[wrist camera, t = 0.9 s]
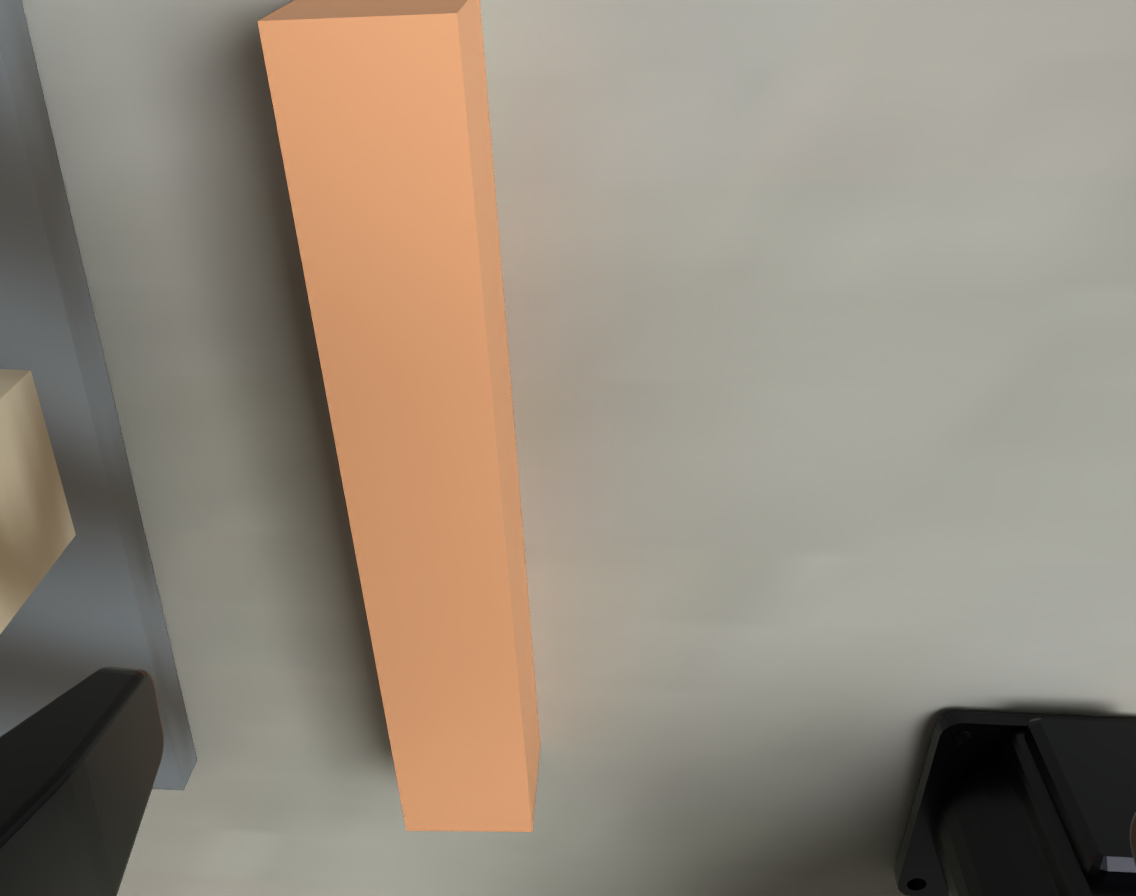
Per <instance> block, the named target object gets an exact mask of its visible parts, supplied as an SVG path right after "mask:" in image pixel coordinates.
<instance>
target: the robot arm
mask: <svg viewBox="0 0 1136 896" xmlns="http://www.w3.org/2000/svg"><path fill="white" fill-rule="evenodd" d="M961 730H963V731H961ZM956 731H961V732H959V733H954V732H956ZM163 749H164V733H163V727H162V721H161V716H160V710H159V705H158V699H157V693H156V688H155V683H154V680H153V677H152V676H151V674H150V673H149V672H148V671H145V670H142V669H132V668H120V667H104V668H101V669H99V670H97V671H95V672H93V673H92V674H91V675H89V676H88V677H86V678H85V679H83V680H82V681H80V682H79V683H77V684H76V685H75V686H73V687H72V688H70V689H69V690H67V691H66V692H64V693H63V694H62V695H60V696H59V697H57V698H56V699H54V700H53V701H51V702H50V703H48V704H47V705H46V706H44V707H43V708H41V709H40V710H38V711H37V712H35V713H34V714H32V715H31V716H30V717H28V718H27V719H25V720H24V721H22V722H21V723H19V724H18V725H17V726H15V727H14V728H12V729H11V730H9V731H8V732H6V733H5V734H3V735H2V736H1V737H0V896H117V893H118V890H119V887H120V884H121V881H122V878H123V875H124V872H125V869H126V866H127V863H128V860H129V857H130V854H131V851H132V848H133V845H134V842H135V839H136V836H137V833H138V830H139V827H140V824H141V821H142V818H143V815H144V812H145V809H146V806H147V803H148V800H149V797H150V794H151V791H152V788H153V785H154V782H155V779H156V776H157V773H158V770H159V767H160V763H161V760H162V755H163ZM895 878H896V882H897V886H898V889H899V890H900V892H902V893H903V894H905V895H909V896H1136V719H1125V718H1104V717H1082V716H1061V715H1039V714H1018V713H996V712H975V711H953V712H949V713H947V714H944V715H943V716H942V717H940V718H939V719H938V721H937V722H936V724H935V727H934V731H933V734H932V738H931V742H930V745H929V749H928V752H927V756H926V759H925V763H924V767H923V770H922V774H921V777H920V781H919V785H918V788H917V792H916V795H915V799H914V803H913V806H912V810H911V813H910V817H909V820H908V824H907V828H906V831H905V835H904V838H903V842H902V846H901V849H900V853H899V856H898V860H897V864H896V867H895Z"/></svg>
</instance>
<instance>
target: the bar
mask: <svg viewBox="0 0 1136 896" xmlns="http://www.w3.org/2000/svg"><path fill="white" fill-rule="evenodd" d="M257 22H258V27H259V32H260V38H261V43H262V49H263V54H264V60H265V65H266V71H267V76H268V81H269V87H270V92H271V98H272V103H273V109H274V114H275V119H276V125H277V130H278V136H279V141H280V147H281V152H282V158H283V163H284V168H285V174H286V179H287V185H288V190H289V196H290V201H291V206H292V212H293V217H294V223H295V228H296V234H297V239H298V244H299V250H300V255H301V261H302V266H303V272H304V277H305V283H306V288H307V293H308V299H309V304H310V310H311V315H312V321H313V326H314V331H315V337H316V342H317V348H318V353H319V359H320V364H321V370H322V375H323V380H324V386H325V391H326V397H327V402H328V408H329V413H330V418H331V424H332V429H333V435H334V440H335V446H336V451H337V456H338V462H339V467H340V473H341V478H342V484H343V489H344V495H345V500H346V505H347V511H348V516H349V522H350V527H351V533H352V538H353V543H354V549H355V554H356V560H357V565H358V571H359V576H360V582H361V587H362V592H363V598H364V603H365V609H366V614H367V620H368V625H369V630H370V636H371V641H372V647H373V652H374V658H375V663H376V668H377V674H378V679H379V685H380V690H381V696H382V701H383V707H384V712H385V717H386V723H387V728H388V734H389V739H390V745H391V750H392V755H393V761H394V766H395V772H396V777H397V783H398V788H399V794H400V799H401V804H402V810H403V815H404V821H405V826H406V831H496V832H533V821H534V810H535V799H536V788H537V777H538V766H539V755H540V735H539V722H538V710H537V698H536V685H535V673H534V661H533V648H532V636H531V624H530V611H529V599H528V587H527V575H526V562H525V550H524V538H523V525H522V513H521V501H520V488H519V476H518V464H517V451H516V439H515V427H514V414H513V402H512V390H511V377H510V365H509V353H508V341H507V328H506V316H505V304H504V291H503V279H502V267H501V254H500V242H499V230H498V217H497V205H496V193H495V180H494V168H493V156H492V143H491V131H490V119H489V107H488V94H487V82H486V70H485V57H484V45H483V33H482V20H481V8H480V0H294V1H292V2H290V3H289V4H287V5H285V6H283V7H282V8H280V9H278V10H276V11H274V12H273V13H271V14H269V15H267V16H266V17H264V18H262V19H260V20H258V21H257Z"/></svg>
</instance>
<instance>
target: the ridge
mask: <svg viewBox="0 0 1136 896" xmlns="http://www.w3.org/2000/svg"><path fill="white" fill-rule="evenodd" d="M104 667H120V668H132V669H142V670H145V671H148V672H149V673H150V674H151V676H152V677H153V680H154V683H155V688H156V693H157V699H158V705H159V710H160V716H161V721H162V727H163V733H164V749H163V755H162V760H161V763H160V767H159V770H158V773H157V776H156V779H155V782H154V785H153V788H152V789H166V790H184V788H185V786H186V784H187V782H188V779H189V777H190V775H191V773H192V770H193V768H194V766H195V764H196V762H197V758H196V754H195V749H194V745H193V741H192V736H191V732H190V728H189V723H188V719H187V715H186V710H185V706H184V702H183V697H182V693H181V689H180V684H179V680H178V676H177V671H176V667H175V663H174V658H173V654H172V650H171V645H170V641H169V637H168V632H167V628H166V624H165V619H164V615H163V611H162V607H161V602H160V598H159V594H158V589H157V585H156V581H155V576H154V572H153V568H152V563H151V559H150V555H149V550H148V546H147V542H146V537H145V533H144V529H143V524H142V520H141V516H140V511H139V507H138V503H137V498H136V494H135V490H134V485H133V481H132V477H131V472H130V468H129V464H128V459H127V455H126V451H125V447H124V442H123V438H122V434H121V429H120V425H119V421H118V416H117V412H116V408H115V403H114V399H113V395H112V390H111V386H110V382H109V377H108V373H107V369H106V364H105V360H104V356H103V351H102V347H101V343H100V338H99V334H98V330H97V325H96V321H95V317H94V312H93V308H92V304H91V300H90V295H89V291H88V287H87V282H86V278H85V274H84V269H83V265H82V261H81V256H80V252H79V248H78V243H77V239H76V235H75V230H74V226H73V222H72V217H71V213H70V209H69V204H68V200H67V196H66V191H65V187H64V183H63V178H62V174H61V170H60V165H59V161H58V157H57V152H56V148H55V144H54V140H53V135H52V131H51V127H50V122H49V118H48V114H47V109H46V105H45V101H44V96H43V92H42V88H41V83H40V79H39V75H38V70H37V66H36V62H35V57H34V53H33V49H32V44H31V40H30V36H29V31H28V27H27V23H26V18H25V14H24V10H23V5H22V1H21V0H0V737H1V736H2V735H3V734H5V733H6V732H8V731H9V730H11V729H12V728H14V727H15V726H17V725H18V724H19V723H21V722H22V721H24V720H25V719H27V718H28V717H30V716H31V715H32V714H34V713H35V712H37V711H38V710H40V709H41V708H43V707H44V706H46V705H47V704H48V703H50V702H51V701H53V700H54V699H56V698H57V697H59V696H60V695H62V694H63V693H64V692H66V691H67V690H69V689H70V688H72V687H73V686H75V685H76V684H77V683H79V682H80V681H82V680H83V679H85V678H86V677H88V676H89V675H91V674H92V673H93V672H95V671H97V670H99V669H101V668H104Z"/></svg>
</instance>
